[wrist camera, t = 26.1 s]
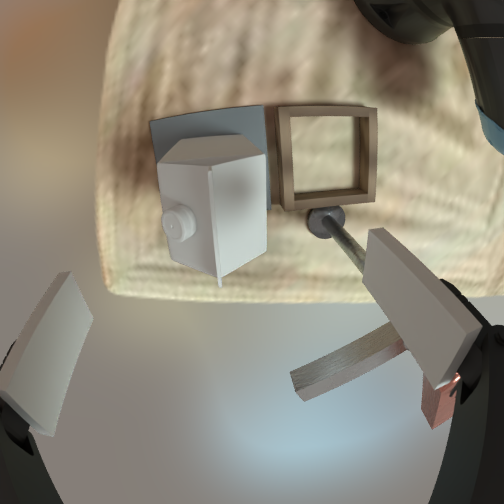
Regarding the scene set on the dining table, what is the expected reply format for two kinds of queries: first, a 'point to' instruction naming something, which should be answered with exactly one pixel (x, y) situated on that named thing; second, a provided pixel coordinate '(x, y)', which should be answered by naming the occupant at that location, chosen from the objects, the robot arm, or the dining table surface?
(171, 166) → the milk carton
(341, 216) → the base
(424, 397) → the signpost
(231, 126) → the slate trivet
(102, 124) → the dining table surface
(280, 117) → the frame
